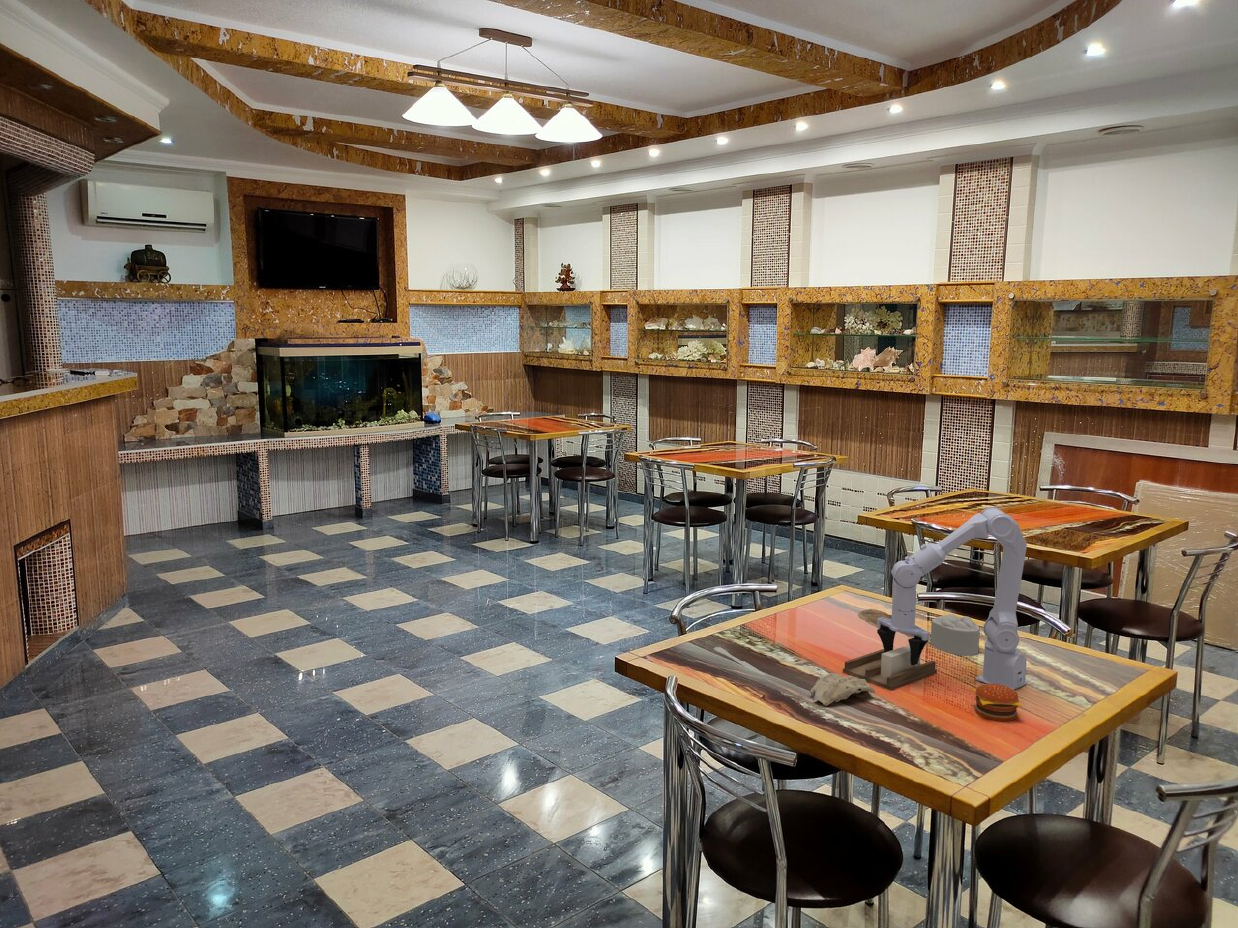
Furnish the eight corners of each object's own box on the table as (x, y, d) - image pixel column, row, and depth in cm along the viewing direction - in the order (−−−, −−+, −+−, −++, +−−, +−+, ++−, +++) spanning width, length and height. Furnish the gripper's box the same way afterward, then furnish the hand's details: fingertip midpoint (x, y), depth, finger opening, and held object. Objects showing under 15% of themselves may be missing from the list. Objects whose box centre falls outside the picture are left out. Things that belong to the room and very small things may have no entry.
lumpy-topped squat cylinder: (952, 638, 257) (954, 609, 256) (988, 652, 246) (990, 622, 245) (925, 643, 253) (926, 614, 252) (960, 658, 241) (962, 628, 240)
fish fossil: (927, 637, 260) (927, 633, 259) (897, 643, 257) (897, 639, 256) (876, 609, 284) (875, 606, 284) (848, 615, 281) (847, 611, 281)
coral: (820, 708, 209) (821, 686, 209) (801, 688, 221) (802, 668, 221) (881, 704, 212) (882, 683, 211) (859, 685, 224) (859, 665, 223)
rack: (936, 673, 231) (937, 662, 230) (891, 690, 220) (892, 678, 219) (888, 656, 243) (888, 646, 242) (842, 672, 231) (843, 661, 231)
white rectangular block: (919, 669, 231) (920, 647, 230) (890, 680, 224) (891, 657, 223) (909, 666, 233) (910, 643, 232) (880, 676, 226) (881, 653, 225)
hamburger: (968, 704, 212) (970, 677, 211) (1010, 706, 211) (1012, 679, 210) (980, 721, 202) (982, 693, 201) (1024, 723, 202) (1026, 695, 201)
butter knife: (720, 646, 250) (711, 647, 249) (770, 675, 229) (760, 677, 228) (720, 647, 250) (711, 649, 249) (770, 677, 229) (760, 679, 228)
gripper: (870, 604, 229) (868, 654, 231) (919, 618, 218) (916, 671, 220) (887, 599, 234) (885, 649, 235) (936, 613, 222) (933, 665, 224)
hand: (901, 659), depth 228 cm, fingers open, 7 cm apart
